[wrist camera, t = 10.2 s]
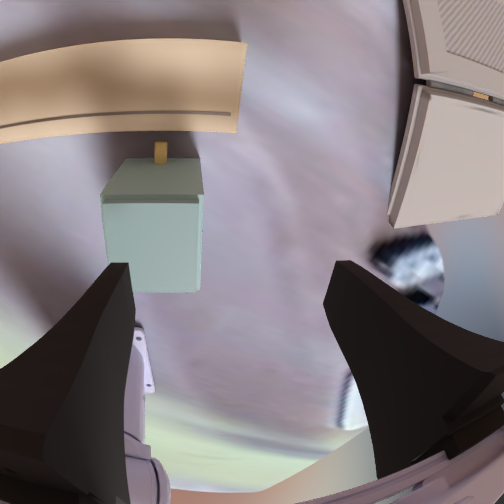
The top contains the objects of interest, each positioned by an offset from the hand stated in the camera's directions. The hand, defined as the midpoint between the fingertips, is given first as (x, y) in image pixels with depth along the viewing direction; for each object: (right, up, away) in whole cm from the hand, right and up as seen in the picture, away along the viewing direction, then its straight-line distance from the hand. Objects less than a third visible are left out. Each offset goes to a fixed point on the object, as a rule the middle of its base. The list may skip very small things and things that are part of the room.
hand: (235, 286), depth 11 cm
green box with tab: (-5, +5, +8) cm, 11 cm away
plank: (-11, +10, +3) cm, 16 cm away
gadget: (+18, +14, +8) cm, 24 cm away
